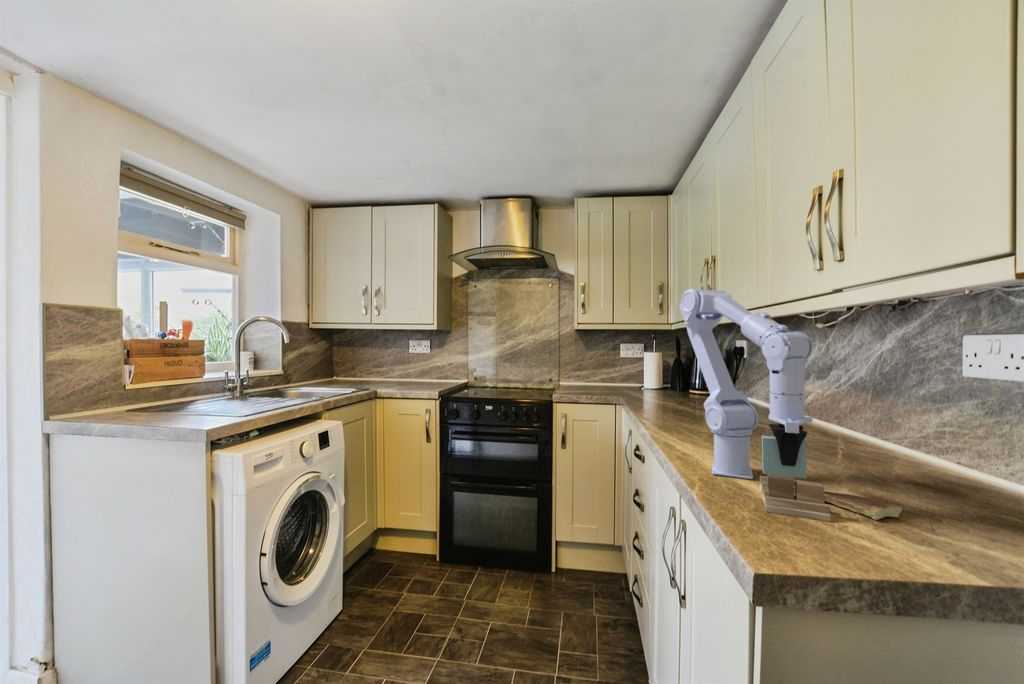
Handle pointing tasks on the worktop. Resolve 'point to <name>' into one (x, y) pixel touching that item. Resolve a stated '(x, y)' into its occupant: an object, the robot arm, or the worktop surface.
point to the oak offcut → (809, 492)
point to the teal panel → (773, 462)
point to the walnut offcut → (780, 486)
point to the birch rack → (793, 505)
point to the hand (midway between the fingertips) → (787, 463)
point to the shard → (863, 505)
